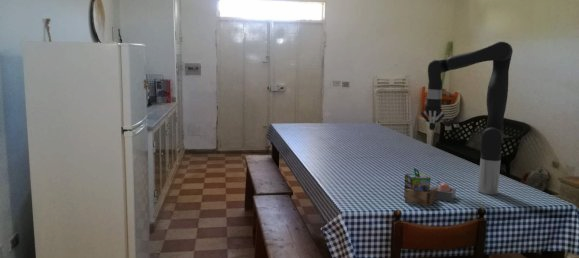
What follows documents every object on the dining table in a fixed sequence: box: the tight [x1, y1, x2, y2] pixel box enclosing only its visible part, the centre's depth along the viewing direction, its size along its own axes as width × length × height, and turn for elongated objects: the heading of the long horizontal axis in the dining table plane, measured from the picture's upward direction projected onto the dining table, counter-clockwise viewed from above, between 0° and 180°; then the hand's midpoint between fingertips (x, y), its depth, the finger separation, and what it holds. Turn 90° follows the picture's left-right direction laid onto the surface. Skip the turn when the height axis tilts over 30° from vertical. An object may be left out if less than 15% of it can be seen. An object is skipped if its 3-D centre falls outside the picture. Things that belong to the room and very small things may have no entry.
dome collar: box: [434, 185, 457, 202], centre depth 207 cm, size 9×9×4 cm
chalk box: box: [403, 167, 432, 198], centre depth 203 cm, size 9×9×15 cm
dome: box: [437, 182, 451, 192], centre depth 207 cm, size 6×6×6 cm
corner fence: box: [404, 187, 436, 207], centre depth 201 cm, size 11×11×6 cm
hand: (432, 130), depth 231 cm, fingers closed
